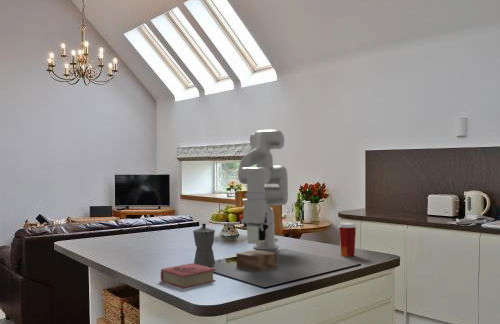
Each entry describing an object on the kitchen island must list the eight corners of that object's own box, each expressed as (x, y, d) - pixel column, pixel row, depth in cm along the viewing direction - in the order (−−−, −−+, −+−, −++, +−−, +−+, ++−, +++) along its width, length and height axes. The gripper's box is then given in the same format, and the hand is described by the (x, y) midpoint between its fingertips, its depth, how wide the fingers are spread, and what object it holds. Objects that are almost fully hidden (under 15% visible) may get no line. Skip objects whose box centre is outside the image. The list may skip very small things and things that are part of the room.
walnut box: (256, 263, 205) (256, 249, 205) (276, 267, 197) (276, 253, 197) (236, 267, 197) (236, 253, 197) (257, 272, 188) (257, 257, 188)
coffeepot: (217, 267, 196) (217, 224, 196) (195, 269, 193) (194, 225, 194) (212, 260, 211) (211, 220, 211) (191, 261, 208) (191, 221, 209)
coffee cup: (357, 254, 221) (357, 222, 221) (355, 257, 213) (355, 224, 213) (339, 253, 224) (339, 222, 224) (337, 256, 216) (336, 224, 216)
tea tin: (254, 241, 200) (254, 222, 200) (265, 242, 197) (264, 223, 197) (247, 243, 196) (247, 224, 196) (258, 244, 193) (258, 224, 193)
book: (191, 275, 184) (191, 262, 184) (215, 282, 173) (215, 268, 173) (160, 282, 174) (159, 268, 174) (183, 289, 163) (183, 275, 163)
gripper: (234, 196, 198) (234, 239, 198) (268, 197, 189) (269, 242, 189) (244, 195, 205) (244, 236, 204) (277, 196, 195) (278, 239, 195)
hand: (256, 239), depth 197 cm, fingers closed on tea tin, 5 cm apart
